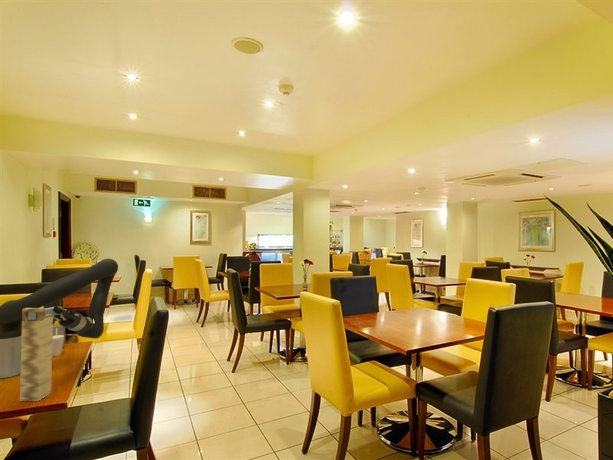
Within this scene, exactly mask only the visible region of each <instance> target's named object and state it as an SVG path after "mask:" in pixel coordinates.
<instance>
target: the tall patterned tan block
mask: <svg viewBox="0 0 613 460" xmlns="http://www.w3.org/2000/svg"><path fill="white" fill-rule="evenodd" d="M28 312H37V320H27V319H28ZM53 325H54V318H53V317H52V314H47V315H45V307H40V308H25V309H22V339H21V373H20V375H19V377H20V378H19V380H20V381H19V382H20V385H19V402H20V401H39V400H40V401H42V400H43V399H42V398H44V397H45V396H47V395H48V396H49V394H50V395H51V394H52V376H53V375H52V371H53V368H52V367H53V365H52V364H53V356H52V334H53ZM48 396H47V397H48ZM45 398H46V397H45ZM45 398H44V399H45ZM41 399H42V400H41ZM40 401H39V402H40Z"/></svg>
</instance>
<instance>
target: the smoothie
mask: <svg viewBox="0 0 613 460" xmlns="http://www.w3.org/2000/svg"><path fill="white" fill-rule="evenodd" d="M63 338H64V339H65V334H64V335H57V328H56V336H52V357H58V356H61V354H62V349H63V348H62V344H63Z"/></svg>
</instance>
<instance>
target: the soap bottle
mask: <svg viewBox="0 0 613 460" xmlns="http://www.w3.org/2000/svg"><path fill="white" fill-rule="evenodd" d="M56 328H57V335H64V336H65V332H64V331H65V330H64V328H65V327H63V326H61V325H60V324H59V322H58V320H56V319H55V321H54V322H53V334H52V336H56ZM64 346H65V337H64V338H63V344H62V349H63V347H64Z"/></svg>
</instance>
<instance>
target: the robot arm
mask: <svg viewBox="0 0 613 460" xmlns="http://www.w3.org/2000/svg"><path fill="white" fill-rule="evenodd" d="M118 271H119V265H118V262H117V261H116V260H115V259H112V258H104V259H101V260H100V261H99V262H96V263H95V264H92V265H90V266H89V267H87V268H85V269H83V270H80V271H78V272H74V273H72V274H69V275H66V276H64V277H62V278H59V279H57V280H54V281H52V282H50V283H47V284H46V285H45V286H43V287H41V288H39V289H37V290H36V291H34V292H32V293H30V294H29V295H26V296H24V297H20V298H18V299H11V300H8V301H5V302H4V303H3V304H1V305H0V379H6V378H11V377H15V376H17V375H21V339H22V309H25V308H50V307H51V306H48V305H51V304H53V303H56V302H58V301H61V300H63V299H65V298H67V297H69V296H71V295H74V294H76V293H77V292H79V291H80V290H83V289H84V288H85V287H86V286H88V285H90V284H92V283H93V282H96V281H97V282H96V283H97V284H96V287H95V290H94V293H93V295H92V297H91V301H90V302H89V303H90V304H89V307H88V311H87V314H86V315H87V317H88V318H90V319H92V320H93V322H91V320H90V319H88V318H86V317H85V316H83V314H81V313H80V312H79V311H76V310H74V309H69V308H66V309H65V308H63V307H62V309H61V308H59V307H60V306H58V305H54V306H53V307H54V309H53V311H54V312H55V313H57V314H58V315H54V316H52V317H53V320H55V321H56V320H58V322H59V324H60V325H61V326H63V327H64V328H65V329H68V330H69V331H74V332H75V333H76V334H77V335H78V336H79V337H81V338H88V339H99V338H100V337H102V335H103V333H104V330H105V329H104V327H105V326H104V325H105V323H104V317H105V316H104V315H105V311H106V306H107V303H108V298H109V295H110V294H109V293H110V288H111V286H112V283H113V280H114V279H115V276H116V275H117V273H118Z"/></svg>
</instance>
